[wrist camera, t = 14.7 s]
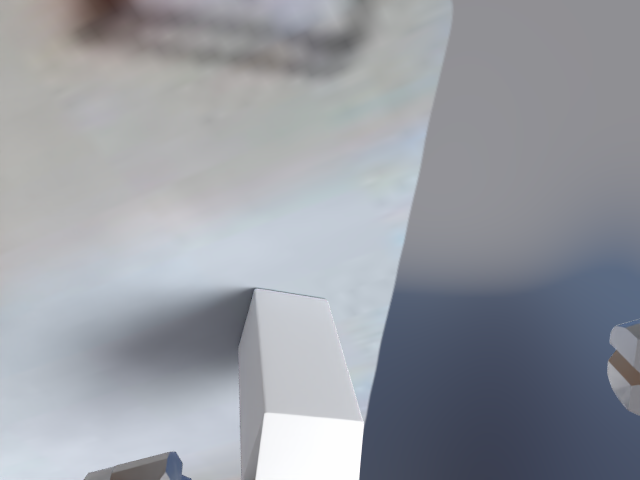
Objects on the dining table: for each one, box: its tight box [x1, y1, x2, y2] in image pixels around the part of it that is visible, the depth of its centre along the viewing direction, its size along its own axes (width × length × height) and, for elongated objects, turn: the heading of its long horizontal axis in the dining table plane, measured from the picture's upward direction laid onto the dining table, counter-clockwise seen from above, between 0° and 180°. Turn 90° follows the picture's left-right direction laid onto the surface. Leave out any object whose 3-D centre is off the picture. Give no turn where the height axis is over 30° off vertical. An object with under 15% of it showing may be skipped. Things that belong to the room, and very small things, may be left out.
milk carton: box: [238, 289, 364, 480], centre depth 41 cm, size 7×7×19 cm
